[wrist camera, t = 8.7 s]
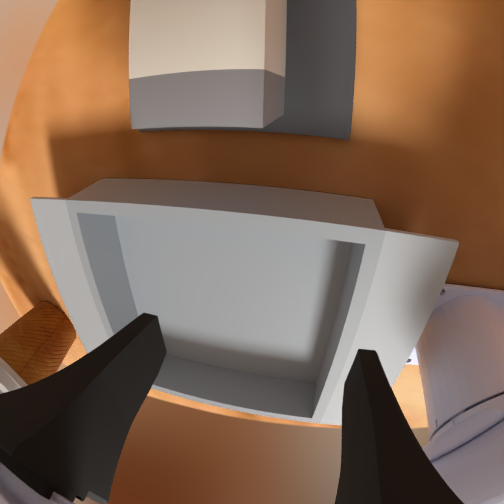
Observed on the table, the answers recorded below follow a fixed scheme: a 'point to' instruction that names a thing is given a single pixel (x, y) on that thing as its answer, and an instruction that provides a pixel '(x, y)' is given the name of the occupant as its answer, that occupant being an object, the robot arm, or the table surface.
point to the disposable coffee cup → (34, 346)
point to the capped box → (206, 63)
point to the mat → (314, 71)
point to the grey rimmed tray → (245, 286)
